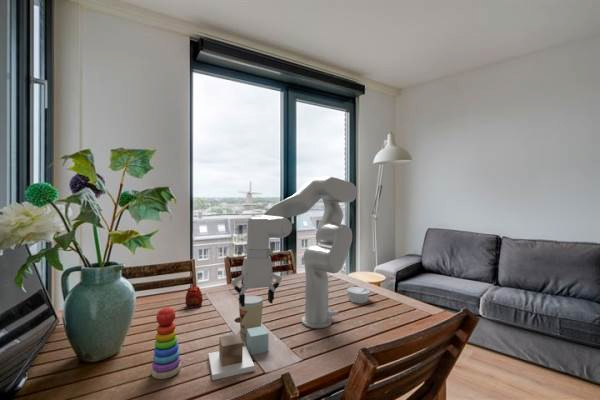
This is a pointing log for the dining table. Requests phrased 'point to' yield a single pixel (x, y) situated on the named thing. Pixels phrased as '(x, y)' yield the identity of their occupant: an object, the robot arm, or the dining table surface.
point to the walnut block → (230, 349)
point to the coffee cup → (250, 313)
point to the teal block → (257, 340)
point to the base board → (229, 370)
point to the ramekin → (358, 294)
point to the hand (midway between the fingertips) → (256, 303)
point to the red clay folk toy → (193, 296)
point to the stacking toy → (166, 346)
